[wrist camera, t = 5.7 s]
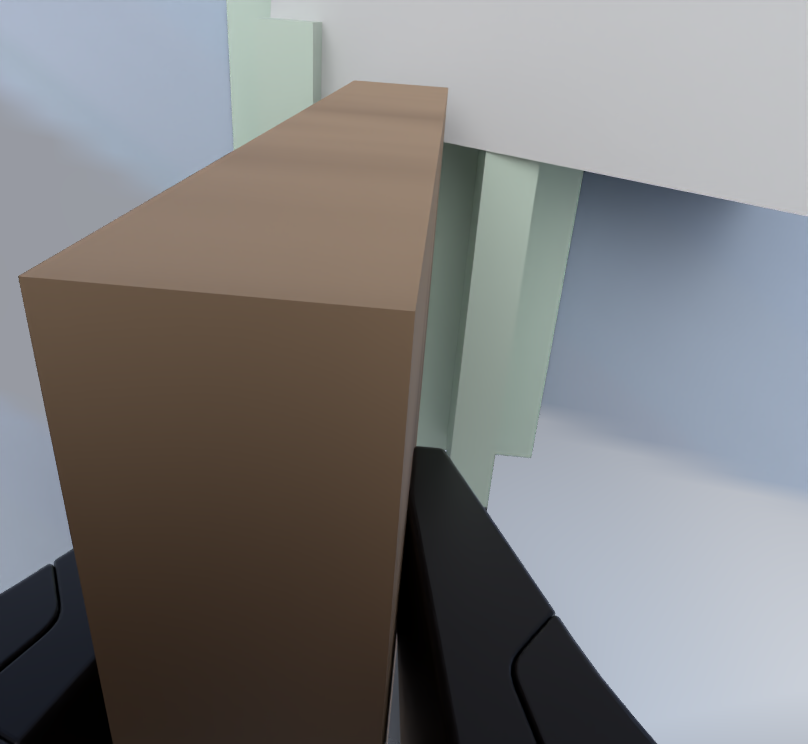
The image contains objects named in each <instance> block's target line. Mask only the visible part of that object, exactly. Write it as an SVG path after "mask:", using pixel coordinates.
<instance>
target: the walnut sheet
mask: <svg viewBox="0 0 808 744" xmlns="http://www.w3.org/2000/svg"><path fill="white" fill-rule="evenodd" d="M447 97H448V88H446V87H433V86H420V85H408V84H395V83H382V82H369V81H356V80H354V81H352V82H350V83H349V84H347V85H345V86H344V87H342V88H340V89H338V90H337V91H335V92H333V93H332V94H330V95H328V96H326V97H325V98H323V99H321V100H320V101H318V102H316V103H314V104H313V105H311V106H309V107H308V108H306V109H304V110H302V111H301V112H299V113H297V114H296V115H294V116H292V117H290V118H289V119H287V120H285V121H284V122H282V123H280V124H278V125H277V126H275V127H273V128H272V129H270V130H268V131H266V132H265V133H263V134H261V135H260V136H258V137H256V138H254V139H253V140H251V141H249V142H248V143H246V144H244V145H242V146H241V147H239V148H237V149H236V150H234V151H232V152H230V153H229V154H227V155H225V156H223V157H222V158H220V159H218V160H217V161H215V162H213V163H211V164H210V165H208V166H206V167H205V168H203V169H201V170H199V171H198V172H196V173H194V174H193V175H191V176H189V177H187V178H186V179H184V180H182V181H181V182H179V183H177V184H175V185H174V186H172V187H170V188H169V189H167V190H165V191H163V192H162V193H160V194H158V195H157V196H155V197H153V198H151V199H150V200H148V201H146V202H145V203H143V204H141V205H140V206H138V207H136V208H134V209H133V210H131V211H129V212H128V213H126V214H124V215H122V216H121V217H119V218H117V219H115V220H114V221H112V222H110V223H109V224H107V225H105V226H103V227H102V228H100V229H98V230H97V231H95V232H93V233H91V234H90V235H88V236H86V237H85V238H83V239H81V240H80V241H78V242H76V243H74V244H73V245H71V246H69V247H67V248H66V249H64V250H62V251H61V252H59V253H57V254H55V255H54V256H52V257H50V258H49V259H47V260H45V261H43V262H42V263H40V264H38V265H37V266H35V267H33V268H31V269H30V270H28V271H26V272H24V273H23V274H21V275H19V276H18V278H19V283H20V288H21V292H22V297H23V302H24V307H25V312H26V317H27V322H28V327H29V332H30V336H31V342H32V346H33V351H34V357H35V361H36V366H37V371H38V376H39V381H40V386H41V391H42V396H43V401H44V406H45V411H46V416H47V421H48V426H49V431H50V436H51V440H52V445H53V450H54V455H55V460H56V465H57V470H58V475H59V480H60V485H61V490H62V495H63V500H64V505H65V510H66V514H67V519H68V524H69V529H70V534H71V539H72V544H73V549H74V554H75V559H76V564H77V569H78V574H79V579H80V584H81V588H82V593H83V598H84V603H85V608H86V613H87V618H88V623H89V628H90V633H91V638H92V643H93V648H94V653H95V658H96V662H97V667H98V672H99V677H100V682H101V687H102V692H103V697H104V702H105V707H106V712H107V717H108V722H109V727H110V732H111V736H112V741H113V744H387V743H388V733H389V723H390V713H391V702H392V692H393V682H394V672H395V662H396V651H397V624H398V612H399V601H400V589H401V578H402V566H403V554H404V543H405V531H406V520H407V508H408V498H409V489H410V480H411V471H412V462H413V453H414V447H416V445H417V433H418V422H419V411H420V400H421V389H422V377H423V366H424V355H425V344H426V333H427V321H428V310H429V299H430V288H431V277H432V265H433V254H434V243H435V232H436V221H437V209H438V198H439V187H440V176H441V165H442V153H443V142H444V131H445V120H446V108H447Z"/></svg>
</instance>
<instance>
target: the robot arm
mask: <svg viewBox="0 0 808 744" xmlns="http://www.w3.org/2000/svg"><path fill="white" fill-rule="evenodd" d="M397 652H398V683H399V714H400V744H657V743H656V742H655V741H654V740H653V738H652V737H651V736H650V735H649V734H648V733H647V732H646V730H645V729H644V728H643V727H642V726H641V724H640V723H639V722H638V721H637V720H636V719H635V717H634V716H633V715H632V714H631V713H630V711H629V710H628V709H627V708H626V706H625V705H624V704H623V703H622V702H621V700H620V699H619V698H618V697H617V695H616V694H615V693H614V692H613V691H612V689H611V688H610V687H609V686H608V684H606V682H605V681H604V680H603V679H602V677H601V676H600V674H599V673H598V672H597V670H596V669H595V668H594V666H593V665H592V663H591V662H590V661H589V659H588V658H587V657H586V655H585V654H584V653H583V651H582V650H581V648H580V647H579V646H578V644H577V643H576V642H575V640H574V639H573V637H572V636H571V634H570V633H569V631H568V630H567V629H566V627H565V626H564V624H563V622H562V621H561V619H560V618H559V617H557V616H555V611H554V610H553V608H552V607H551V605H550V604H549V602H548V601H547V599H546V598H545V596H544V595H543V594H542V592H541V591H540V589H539V588H538V587H537V585H536V584H535V582H534V580H533V579H532V578H531V576H530V575H529V573H528V572H527V570H526V569H525V568H524V566H523V564H522V563H521V561H520V560H519V558H518V557H517V556H516V554H515V553H514V551H513V550H512V548H511V547H510V545H509V544H508V542H507V541H506V539H505V538H504V536H503V535H502V533H501V532H500V531H499V529H498V528H497V526H496V525H495V523H494V522H493V520H492V519H491V517H490V516H489V514H488V513H487V511H486V510H485V509H484V507H483V506H482V504H481V503H480V501H479V500H478V498H477V497H476V495H475V494H474V492H473V491H472V489H471V488H470V487H469V485H468V484H467V482H466V481H465V479H464V478H463V476H462V475H461V473H460V472H459V470H458V469H457V467H456V466H455V465H454V463H453V462H452V460H451V459H450V457H449V456H448V454H447V453H446V452H445V450H443V449H442V448H434V447H423V446H416V447H414V453H413V462H412V471H411V480H410V489H409V498H408V508H407V520H406V531H405V543H404V554H403V566H402V578H401V589H400V601H399V612H398V624H397ZM0 744H113V741H112V736H111V732H110V727H109V722H108V717H107V712H106V707H105V702H104V697H103V692H102V687H101V682H100V677H99V672H98V667H97V662H96V658H95V653H94V648H93V643H92V638H91V633H90V628H89V623H88V618H87V613H86V608H85V603H84V598H83V593H82V588H81V584H80V579H79V574H78V569H77V564H76V559H75V554H74V549H72V550H70V551H69V552H67V553H66V554H64V555H62V556H61V557H59V558H58V559H56V560H55V561H54V566H53V565H52V564H48V565H46V566H45V567H43V568H41V569H40V570H38V571H37V572H35V573H34V574H32V575H30V576H29V577H27V578H26V579H24V580H22V581H21V582H19V583H18V584H16V585H14V586H13V587H11V588H9V589H8V590H6V591H4V592H3V593H1V594H0Z"/></svg>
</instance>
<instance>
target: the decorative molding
mask: <svg viewBox="0 0 808 744" xmlns="http://www.w3.org/2000/svg"><path fill="white" fill-rule="evenodd" d="M270 18H280V19H292V20H304V21H317V22H322V65H321V99H323V98H325V97H326V96H328V95H330V94H332V93H333V92H335V91H337V90H338V89H340V88H342V87H344V86H345V85H347V84H349V83H350V82H352V81H354V80H356V81H369V82H382V83H395V84H408V85H420V86H433V87H446V88H448V97H447V108H446V120H445V131H444V142H446V143H451V144H456V145H460V146H465V147H470V148H475V149H480V150H485V151H490V152H495V153H500V154H504V155H509V156H514V157H519V158H524V159H529V160H534V161H539V162H544V163H549V164H553V165H558V166H563V167H568V168H573V169H578V170H583V171H588V172H593V173H597V174H602V175H607V176H612V177H617V178H622V179H627V180H632V181H637V182H641V183H646V184H651V185H656V186H661V187H666V188H671V189H676V190H681V191H686V192H690V193H695V194H700V195H705V196H710V197H715V198H720V199H725V200H730V201H734V202H739V203H744V204H749V205H754V206H759V207H764V208H769V209H774V210H779V211H783V212H788V213H793V214H798V215H803V216H808V0H271V13H270Z"/></svg>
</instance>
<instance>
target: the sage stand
mask: <svg viewBox="0 0 808 744" xmlns="http://www.w3.org/2000/svg"><path fill="white" fill-rule="evenodd" d="M226 3H227V23H228V44H229V64H230V85H231V105H232V125H233V146H234V150H236V149H237V148H239V147H241V146H242V145H244V144H246V143H248V142H249V141H251V140H253V139H254V138H256V137H258V136H260V135H261V134H263V133H265V132H266V131H268V130H270V129H272V128H273V127H275V126H277V125H278V124H280V123H282V122H284V121H285V120H287V119H289V118H290V117H292V116H294V115H296V114H297V113H299V112H301V111H302V110H304V109H306V108H308V107H309V106H311V105H313V104H314V103H316V102H318V101H320V100H321V65H322V22H317V21H304V20H292V19H280V18H270V13H271V0H226ZM583 172H584V171H583V170H578V169H573V168H568V167H563V166H558V165H553V164H549V163H544V162H539V161H534V160H529V159H524V158H519V157H514V156H509V155H504V154H500V153H495V152H490V151H485V150H480V149H475V148H470V147H465V146H460V145H456V144H451V143H446V142H443V153H442V165H441V176H440V187H439V198H438V209H437V221H436V232H435V243H434V254H433V265H432V277H431V288H430V299H429V310H428V321H427V333H426V344H425V355H424V366H423V377H422V389H421V400H420V411H419V422H418V433H417V445H416V446H423V447H434V448H442V449H443V450H447V451H446V453H447V454H448V456H449V457H450V459H451V460H452V462H453V463H454V465H455V466H456V467H457V469H458V470H459V472H460V473H461V475H462V476H463V478H464V479H465V481H466V482H467V484H468V485H469V487H470V488H471V489H472V491H473V492H474V494H475V495H476V497H477V498H478V500H479V501H480V503H481V504H482V506H483V507H487V505H488V498H489V491H490V485H491V479H492V472H493V466H494V465H493V464H494V459H495V455H505V456H516V457H527V458H531V456H532V450H533V445H534V439H535V434H536V429H537V423H538V418H539V412H540V407H541V401H542V396H543V390H544V385H545V380H546V374H547V369H548V363H549V358H550V352H551V347H552V341H553V336H554V330H555V325H556V320H557V314H558V309H559V303H560V298H561V292H562V287H563V281H564V276H565V271H566V265H567V260H568V254H569V249H570V243H571V238H572V232H573V227H574V221H575V216H576V211H577V205H578V200H579V194H580V189H581V183H582V178H583Z"/></svg>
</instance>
